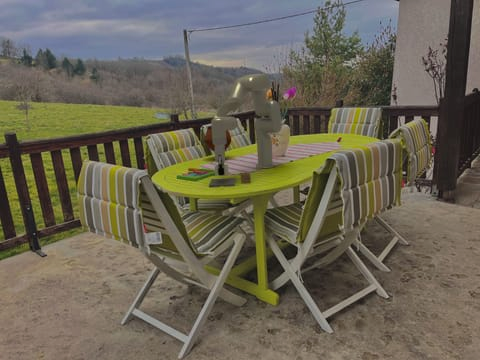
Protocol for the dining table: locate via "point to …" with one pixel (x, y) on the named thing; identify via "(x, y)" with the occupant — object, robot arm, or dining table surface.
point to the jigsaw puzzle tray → (197, 174)
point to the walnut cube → (245, 177)
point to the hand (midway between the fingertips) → (221, 173)
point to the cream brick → (224, 170)
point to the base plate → (222, 182)
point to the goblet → (210, 141)
